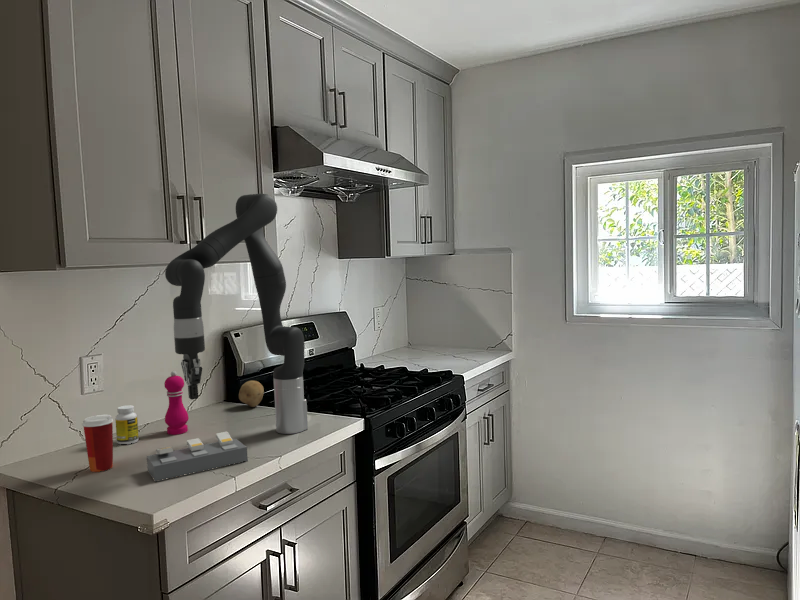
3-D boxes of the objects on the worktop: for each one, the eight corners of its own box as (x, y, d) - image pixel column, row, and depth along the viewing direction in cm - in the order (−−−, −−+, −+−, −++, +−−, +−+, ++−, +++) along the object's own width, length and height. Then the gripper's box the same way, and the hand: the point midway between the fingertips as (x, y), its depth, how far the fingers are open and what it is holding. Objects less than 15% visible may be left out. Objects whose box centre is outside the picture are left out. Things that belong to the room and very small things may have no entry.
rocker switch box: (236, 451, 175) (235, 437, 175) (247, 461, 167) (246, 445, 167) (147, 470, 163) (146, 454, 162) (155, 481, 154) (154, 465, 154)
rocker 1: (168, 451, 165) (168, 446, 165) (172, 451, 160) (172, 446, 161) (156, 454, 163) (155, 449, 163) (160, 454, 159) (159, 449, 159)
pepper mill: (164, 436, 193) (160, 374, 191) (166, 430, 200) (162, 370, 198) (188, 433, 195) (184, 372, 193) (190, 427, 202) (186, 368, 200)
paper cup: (121, 462, 170) (118, 413, 168) (109, 472, 162) (105, 421, 161) (93, 464, 169) (89, 414, 168) (79, 474, 162) (75, 422, 161)
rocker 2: (227, 435, 173) (227, 431, 173) (232, 444, 169) (233, 440, 169) (215, 437, 172) (215, 433, 171) (221, 446, 168) (221, 442, 167)
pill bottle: (130, 445, 185) (128, 409, 184) (112, 444, 186) (109, 409, 185) (143, 439, 191) (140, 404, 190) (125, 438, 192) (123, 404, 191)
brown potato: (247, 411, 220) (246, 384, 219) (234, 407, 226) (233, 381, 225) (269, 406, 226) (267, 379, 226) (255, 402, 233) (254, 377, 232)
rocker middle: (198, 442, 169) (198, 437, 169) (203, 448, 165) (203, 444, 165) (186, 444, 167) (186, 440, 167) (191, 451, 163) (191, 446, 163)
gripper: (210, 335, 159) (214, 401, 160) (197, 330, 170) (201, 392, 171) (180, 339, 155) (185, 406, 156) (168, 333, 166) (173, 396, 167)
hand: (193, 398), depth 164 cm, fingers closed
